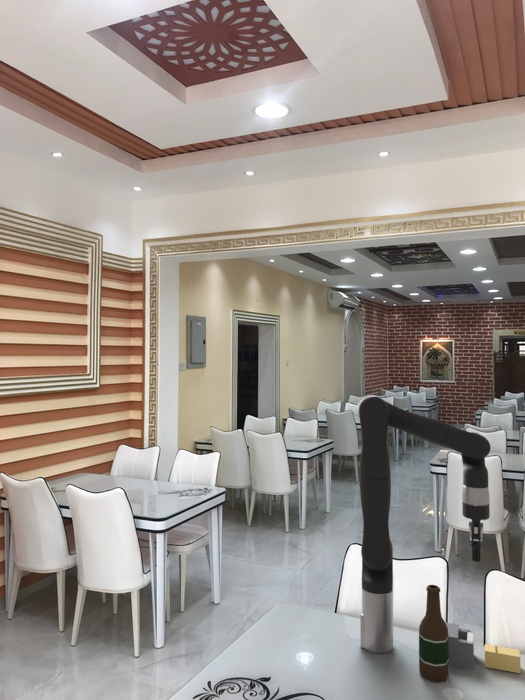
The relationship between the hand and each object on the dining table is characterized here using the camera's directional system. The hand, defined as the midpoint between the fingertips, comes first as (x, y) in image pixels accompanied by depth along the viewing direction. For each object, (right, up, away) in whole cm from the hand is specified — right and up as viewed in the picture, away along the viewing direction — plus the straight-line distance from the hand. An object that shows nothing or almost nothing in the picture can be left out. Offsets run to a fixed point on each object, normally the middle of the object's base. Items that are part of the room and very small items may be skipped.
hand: (476, 556), depth 162 cm
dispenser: (-9, -28, -4) cm, 30 cm away
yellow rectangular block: (+4, -28, -9) cm, 29 cm away
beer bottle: (-17, -28, -12) cm, 35 cm away
